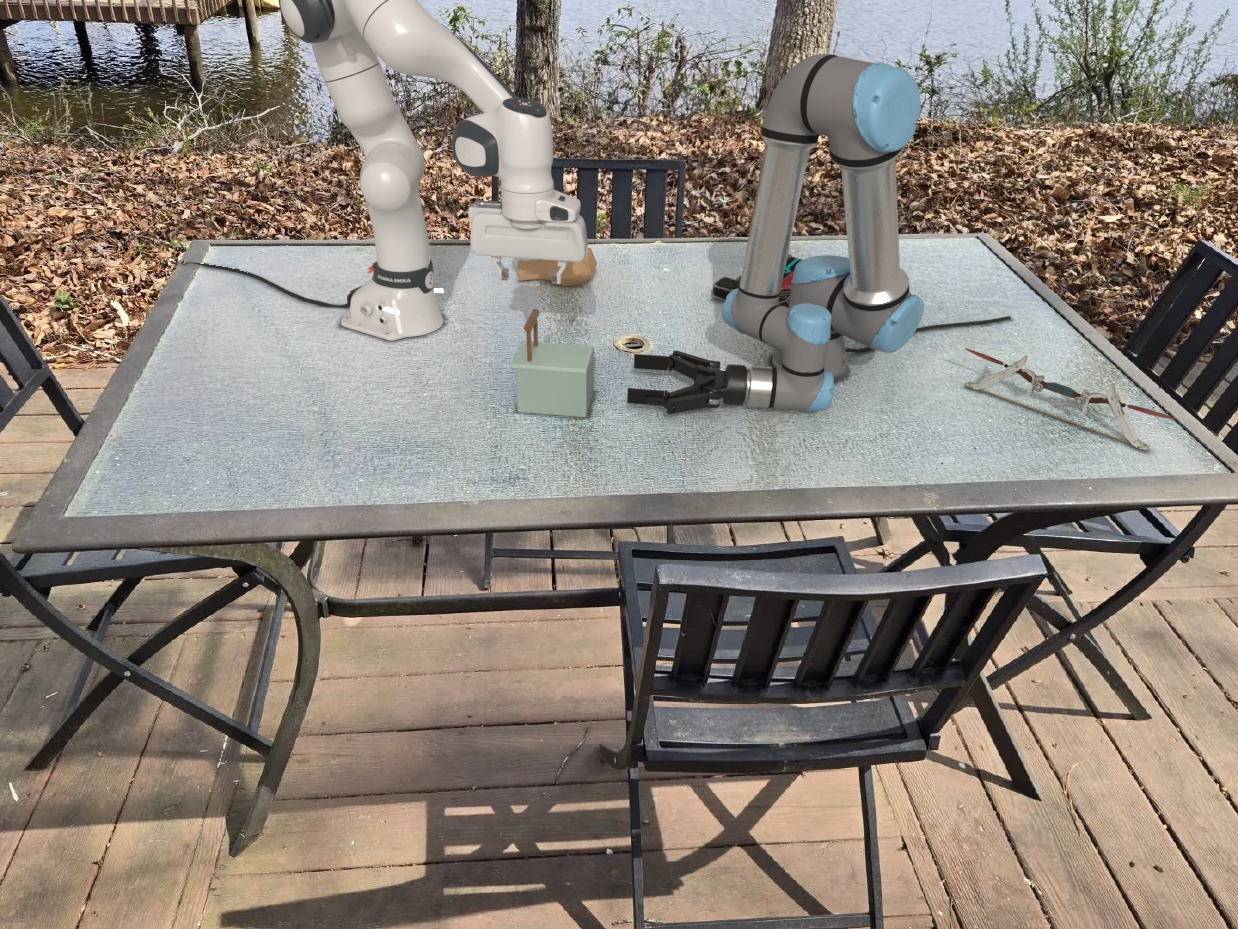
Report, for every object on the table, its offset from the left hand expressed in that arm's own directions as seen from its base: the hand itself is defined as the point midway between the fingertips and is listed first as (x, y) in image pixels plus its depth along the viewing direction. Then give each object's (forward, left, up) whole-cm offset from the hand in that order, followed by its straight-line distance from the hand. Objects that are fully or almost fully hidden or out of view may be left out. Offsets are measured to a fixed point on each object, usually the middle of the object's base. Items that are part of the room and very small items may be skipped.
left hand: (530, 281), depth 155 cm
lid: (+4, +1, -15) cm, 15 cm away
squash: (-18, +57, -24) cm, 65 cm away
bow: (+95, +29, -24) cm, 102 cm away
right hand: (+18, +3, -17) cm, 25 cm away
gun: (+33, +71, -24) cm, 82 cm away
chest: (+4, +1, -24) cm, 25 cm away
